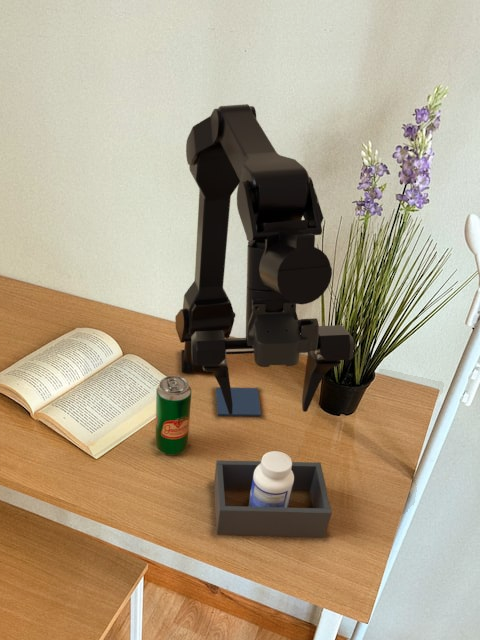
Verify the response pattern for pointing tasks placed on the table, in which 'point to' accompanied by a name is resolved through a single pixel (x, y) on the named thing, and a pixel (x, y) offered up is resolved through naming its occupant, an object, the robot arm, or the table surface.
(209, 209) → the robot arm
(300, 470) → the tub
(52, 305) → the table surface
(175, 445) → the soda can
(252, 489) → the pill bottle
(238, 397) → the mat
